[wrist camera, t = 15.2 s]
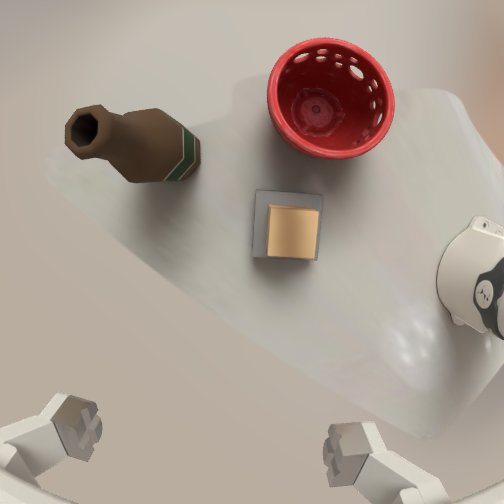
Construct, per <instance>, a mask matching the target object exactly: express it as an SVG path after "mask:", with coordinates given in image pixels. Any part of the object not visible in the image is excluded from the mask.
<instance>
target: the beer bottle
mask: <svg viewBox="0 0 504 504" xmlns="http://www.w3.org/2000/svg"><path fill="white" fill-rule="evenodd" d="M65 145H66V146H67V147H68V148H69V149H70V150H71V151H72V152H73V153H74V154H75V155H76V156H77V157H78V158H80V159H81V160H84V159H90V158H100V159H104V160H108V161H109V163H110V164H111V165H112V166H113V167H114V168H115V169H116V170H117V171H118V172H119V173H120V174H121V175H122V176H123V177H124V178H125V179H126V180H128V181H129V182H131V183H145V182H162V181H177V180H185V179H186V178H187V177H188V176H189V175H190V174H191V173H192V172H193V171H194V169H195V168H196V167H197V166H198V165H199V164H200V141H199V139H198V138H196V137H195V136H194V135H193V134H192V133H191V132H190V131H189V130H188V129H186V128H185V127H184V126H183V125H182V124H181V123H179V122H178V121H176V120H175V119H173V118H172V117H171V116H169V115H168V114H166V113H165V112H164V111H162V110H160V109H157V108H154V109H146V110H139V111H133V112H128V113H126V114H124V115H123V116H122V115H118V114H114V113H111V112H108V111H107V110H106V109H105V108H104V107H103V106H102V105H94V106H89V107H84V108H80V109H77V110H76V111H75V112H74V114H73V115H72V116H71V118H70V119H69V121H68V122H67V123H66V125H65Z"/></svg>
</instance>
